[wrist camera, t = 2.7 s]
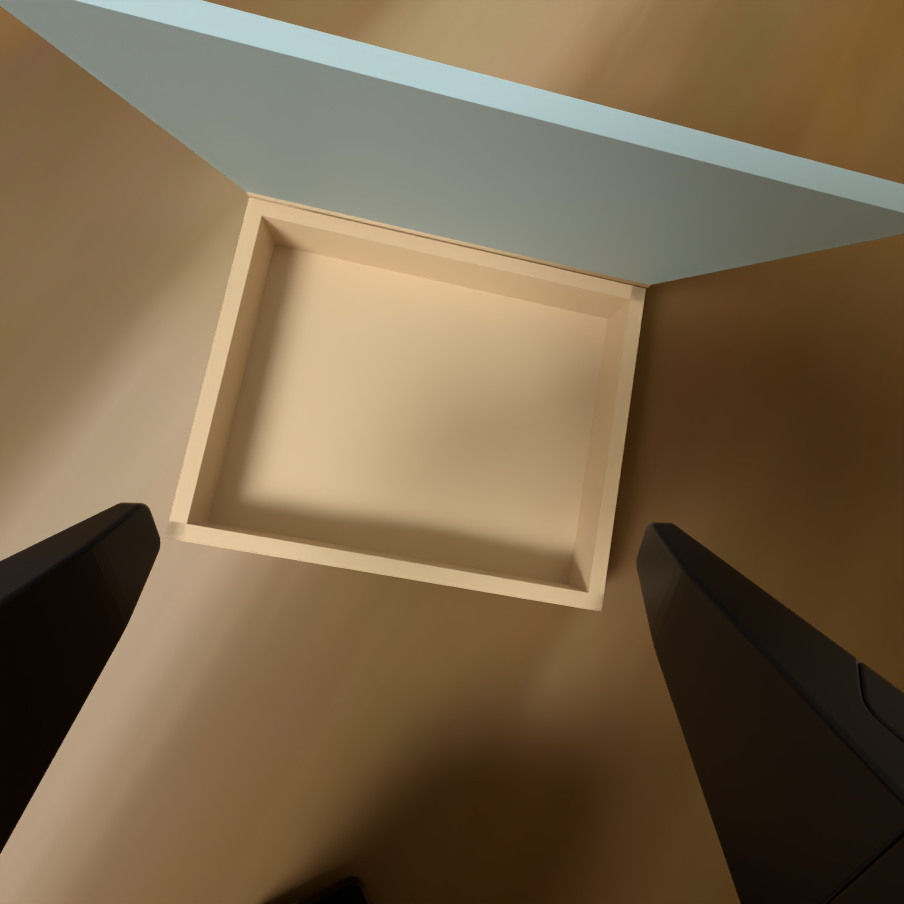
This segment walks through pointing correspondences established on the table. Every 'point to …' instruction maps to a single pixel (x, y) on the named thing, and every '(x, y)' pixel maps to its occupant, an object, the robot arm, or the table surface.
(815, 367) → the table surface
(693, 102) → the table surface
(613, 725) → the table surface
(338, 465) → the wooden tray
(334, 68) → the lid
